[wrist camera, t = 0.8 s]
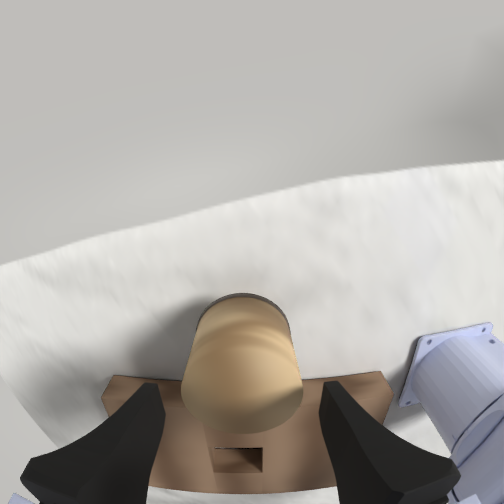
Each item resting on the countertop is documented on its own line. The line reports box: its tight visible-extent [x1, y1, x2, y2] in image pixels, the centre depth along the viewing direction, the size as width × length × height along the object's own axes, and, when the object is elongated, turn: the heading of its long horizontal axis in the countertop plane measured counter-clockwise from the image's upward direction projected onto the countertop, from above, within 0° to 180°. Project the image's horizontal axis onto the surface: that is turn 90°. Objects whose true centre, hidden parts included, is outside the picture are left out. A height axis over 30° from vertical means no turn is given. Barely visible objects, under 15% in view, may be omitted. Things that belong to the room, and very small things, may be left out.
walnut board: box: [101, 371, 394, 494], centre depth 22 cm, size 22×14×3 cm, turn 91°
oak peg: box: [181, 293, 303, 434], centre depth 16 cm, size 6×6×8 cm
